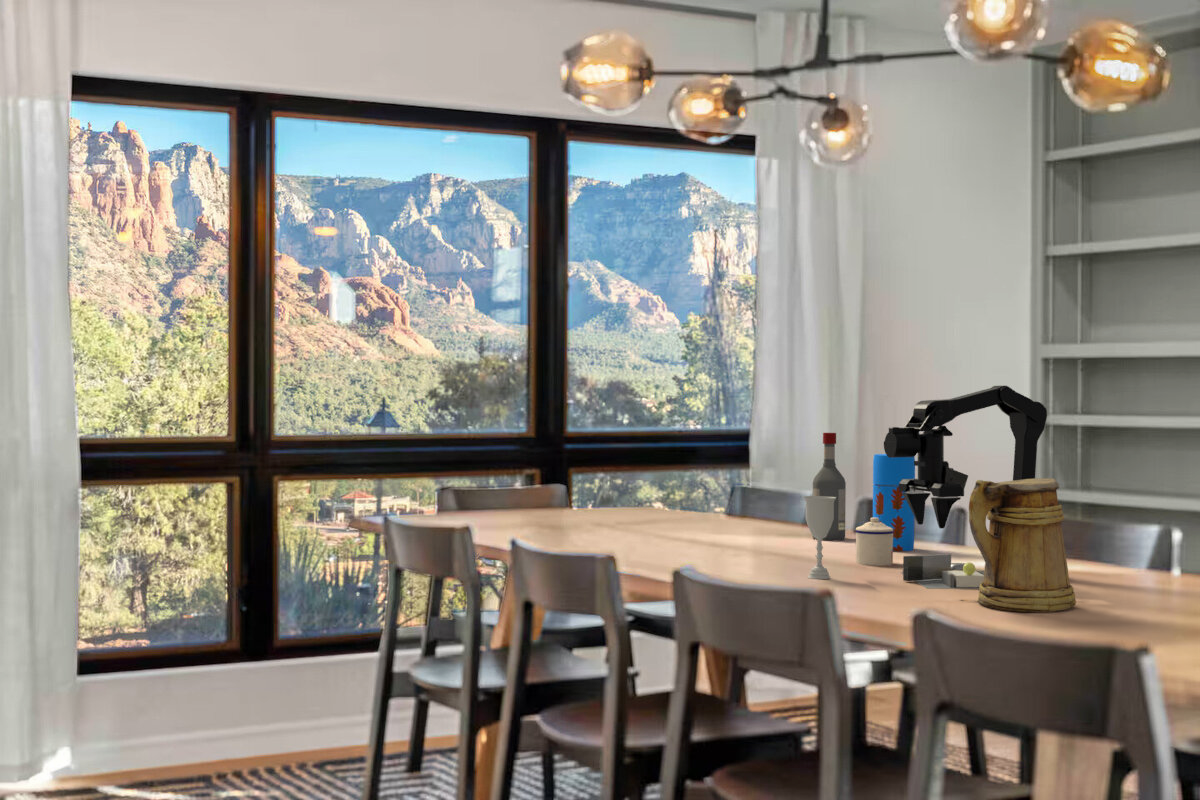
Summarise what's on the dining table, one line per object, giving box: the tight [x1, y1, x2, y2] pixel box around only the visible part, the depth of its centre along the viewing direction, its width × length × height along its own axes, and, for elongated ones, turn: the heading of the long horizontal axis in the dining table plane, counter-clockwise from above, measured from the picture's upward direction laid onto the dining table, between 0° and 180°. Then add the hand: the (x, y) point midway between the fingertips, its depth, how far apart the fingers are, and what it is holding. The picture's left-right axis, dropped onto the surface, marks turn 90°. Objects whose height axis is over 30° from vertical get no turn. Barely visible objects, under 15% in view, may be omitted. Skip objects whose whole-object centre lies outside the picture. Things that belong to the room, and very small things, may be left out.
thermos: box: [872, 453, 916, 552], centre depth 373 cm, size 11×11×25 cm
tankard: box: [968, 478, 1077, 613], centre depth 274 cm, size 18×24×25 cm
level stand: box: [899, 571, 984, 590], centre depth 306 cm, size 22×26×4 cm
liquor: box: [812, 432, 847, 541], centre depth 398 cm, size 9×9×30 cm
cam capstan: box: [902, 553, 984, 582], centre depth 305 cm, size 9×18×5 cm, turn 116°
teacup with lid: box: [854, 517, 894, 567], centre depth 337 cm, size 12×9×12 cm
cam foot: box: [947, 562, 984, 587], centre depth 299 cm, size 6×8×5 cm
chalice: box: [803, 495, 836, 580], centre depth 315 cm, size 7×7×18 cm
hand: (931, 526), depth 315 cm, fingers open, 9 cm apart
